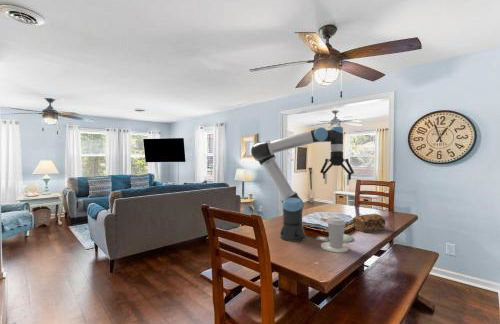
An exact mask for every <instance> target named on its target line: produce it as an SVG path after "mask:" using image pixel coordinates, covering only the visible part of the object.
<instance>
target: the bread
mask: <svg viewBox="0 0 500 324" xmlns="http://www.w3.org/2000/svg"><path fill="white" fill-rule="evenodd" d="M353 225H354V226H355V230H356V231H359V232H361V233H371V232H380V231H384V230H385V229H386V228H385V227H386V219H385V218H384V217H383V216H381V215H380V214H377V213H370V214H363V215H356V216H354V217H353V218H352V226H353Z"/></svg>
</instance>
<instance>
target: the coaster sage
mask: <svg viewBox="0 0 500 324" xmlns="http://www.w3.org/2000/svg"><path fill="white" fill-rule="evenodd" d="M353 241H354V237H353V236H351V235H350V234H346V233H344V237H343V243H350V242H351V243H352V242H353Z"/></svg>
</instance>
